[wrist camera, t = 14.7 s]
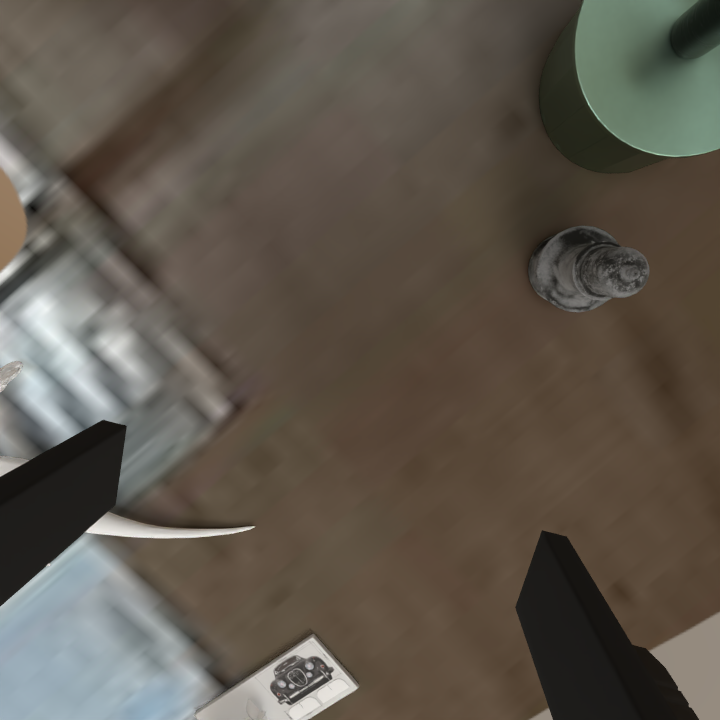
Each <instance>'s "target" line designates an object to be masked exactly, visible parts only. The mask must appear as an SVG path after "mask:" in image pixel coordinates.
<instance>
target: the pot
mask: <svg viewBox="0 0 720 720" xmlns="http://www.w3.org/2000/svg"><path fill="white" fill-rule="evenodd" d="M578 11H579V10H578ZM578 11H577V12H576V14H575V15H574V16H573V18H572V19H571V21H570V22H569V23H568V25H567V26H566V27H565V29H564V30H563V31H562V33H561V34H560V36H559V37H558V39H557V41H556V43H555V45H554V47H553V49H552V51H551V52H550V54H549V56H548V59H547V61H546V63H545V66H544V68H543V73H542V76H541V82H540V89H539V104H540V112H541V117H542V121H543V124H544V127H545V129H546V132H547V134H548V135H549V137H550V139H551V141H552V142H553V144H554V145H555V146H556V148H557V149H558V150H559V151H560V152H561V153H562V154H563V155H564V156H565V157H567V158H568V159H569V160H570V161H572V162H574V163H575V164H577V165H579V166H581V167H583V168H586V169H588V170H592V171H596V172H602V173H622V172H624V173H628V172H631V171H634V170H637V169H640V168H642V167H645V166H648V165H651V164H653V163H656V162H659V161H661V160H664V159H667V158H662V157H654V156H650V155H646V154H642V153H639V152H637V151H634V150H631V149H629V148H627V147H625V146H624V145H622V144H620V143H618V142H617V141H615V140H614V139H613V138H612V137H610V136H609V135H608V134H606V133H605V132H604V131H603V130H602V129H601V127H600V126H599V125H598V124H597V123H596V122H595V121H594V119H593V118H592V116H591V115H590V113H589V112H588V111H587V109H586V107H585V105H584V103H583V101H582V99H581V96H580V94H579V91H578V88H577V85H576V81H575V76H574V71H573V61H572V42H573V33H574V27H575V21H576V18H577V14H578Z"/></svg>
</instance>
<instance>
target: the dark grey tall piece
mask: <svg viewBox="0 0 720 720" xmlns="http://www.w3.org/2000/svg"><path fill="white" fill-rule="evenodd" d="M528 274H529V280H530V282H531V285H532V287H533V289H534V290H535V291H536V292H537V294H538V295H540V296H541V297H542V298H544V299H545V300H548V301H549V302H550V303H552V304H553V305H554V306H556V307H557V308H560V309H563V310H565V311H571V312H583V311H590V310H592V309H594V308H597V307H599V306H601V305H602V304H604V303H605V302H606V301H608V300H609V299H611V298H613V297H618V298H623V297H628V296H631V295H633V294H636V293H637V292H638V291H640V290H641V289H642V288H643V287H644V285H645V284H646V282H647V280H648V276H649V265H648V262H647V260H646V258H645V257H644V256H643V254H641V253H640V252H639V251H637V250H635V249H632V248H630V247H621V246H620V245H619V244H618V243H617V242H616V240H615V239H614V237H612V236H611V235H610V234H608V233H607V232H606V231H604V230H602V229H599V228H596V227H593V226H577V227H571V228H568V229H566V230H564V231H562V232H560V233H558V234H555V235H553V236H551V237H548V238H547V239H545V240H544V241H543V242H541V243H540V244H539V245H538V247H537V248H536V249H535V250H534V252H533V254H532V256H531V258H530V261H529V267H528Z"/></svg>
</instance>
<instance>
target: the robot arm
mask: <svg viewBox="0 0 720 720" xmlns="http://www.w3.org/2000/svg"><path fill="white" fill-rule="evenodd" d="M126 427H127V426H125V425H121V424H117V423H113V422H109V421H105V420H102V421H100V422H98V423H97V424H95V425H93V426H91V427H89V428H87V429H86V430H84V431H82V432H80V433H78V434H77V435H75V436H73V437H71V438H69V439H68V440H66V441H64V442H62V443H60V444H59V445H57V446H55V447H53V448H51V449H49V450H48V451H46V452H44V453H42V454H40V455H39V456H37V457H35V458H33V459H31V460H30V461H28V462H26V463H24V464H22V465H21V466H19V467H17V468H15V469H13V470H11V471H10V472H8V473H6V474H4V475H2V476H1V477H0V606H1V605H2V604H4V603H5V602H6V601H7V600H8V599H9V598H10V597H12V596H13V595H14V594H15V593H16V592H17V591H18V590H20V589H21V588H22V587H23V586H24V585H25V584H26V583H27V582H29V581H30V580H31V579H32V578H33V577H34V576H35V575H37V574H38V573H39V572H40V571H41V570H42V569H43V568H45V567H46V566H47V565H48V564H49V563H50V562H51V561H53V560H54V559H55V558H56V557H57V556H58V555H59V554H60V553H62V552H63V551H64V550H65V549H66V548H67V547H68V546H70V545H71V544H72V543H73V542H74V541H75V540H76V539H78V538H79V537H80V536H81V535H82V534H83V533H84V532H86V531H87V530H88V529H89V528H90V527H91V526H92V525H93V524H95V523H96V522H97V521H98V520H99V519H100V518H101V517H103V516H104V515H105V514H106V513H107V512H108V511H109V510H111V509H112V508H113V507H114V506H115V505H116V497H117V490H118V483H119V476H120V469H121V462H122V455H123V448H124V441H125V434H126ZM515 608H516V611H517V614H518V617H519V620H520V623H521V626H522V629H523V632H524V635H525V637H526V640H527V643H528V646H529V649H530V652H531V655H532V658H533V661H534V664H535V667H536V670H537V673H538V676H539V679H540V682H541V685H542V688H543V691H544V694H545V697H546V700H547V703H548V706H549V709H550V712H551V715H552V717H553V720H699V719H698V717H697V716H696V714H695V713H694V711H693V710H692V708H690V707H689V706H688V705H689V703H688V702H687V700H686V699H685V697H684V696H683V694H682V693H681V691H678V687H677V685H676V683H675V682H674V680H673V679H672V677H671V676H670V674H669V673H668V671H667V670H666V668H665V667H664V666H663V665H662V664H661V663H660V662H659V661H658V660H657V659H656V658H655V657H654V656H653V655H652V654H651V653H650V652H649V651H648V650H647V649H646V648H642V647H638V646H634V645H632V644H631V642H630V640H629V639H628V637H627V635H626V634H625V632H624V630H623V629H622V627H621V625H620V624H619V622H618V620H617V619H616V617H615V616H614V614H613V612H612V611H611V609H610V607H609V606H608V604H607V602H606V601H605V599H604V597H603V596H602V594H601V592H600V591H599V589H598V587H597V586H596V584H595V582H594V581H593V579H592V577H591V576H590V574H589V573H588V571H587V569H586V568H585V566H584V564H583V563H582V561H581V559H580V558H579V556H578V554H577V553H576V551H575V549H574V548H573V546H572V544H571V543H570V541H569V539H568V538H567V537H566V536H562V535H558V534H554V533H550V532H546V531H542V532H541V535H540V538H539V541H538V544H537V546H536V549H535V552H534V555H533V558H532V561H531V564H530V567H529V570H528V573H527V575H526V578H525V581H524V584H523V587H522V590H521V593H520V596H519V599H518V601H517V604H516V607H515Z"/></svg>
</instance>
